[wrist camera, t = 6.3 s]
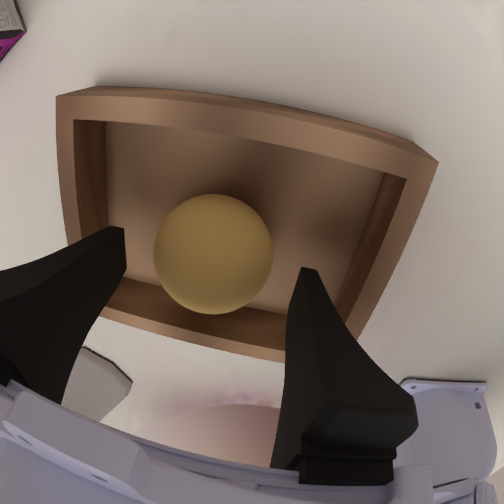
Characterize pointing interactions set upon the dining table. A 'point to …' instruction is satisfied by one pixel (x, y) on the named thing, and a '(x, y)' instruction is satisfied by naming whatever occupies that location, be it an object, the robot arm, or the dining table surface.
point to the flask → (94, 386)
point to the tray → (244, 189)
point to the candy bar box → (9, 25)
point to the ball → (213, 254)
